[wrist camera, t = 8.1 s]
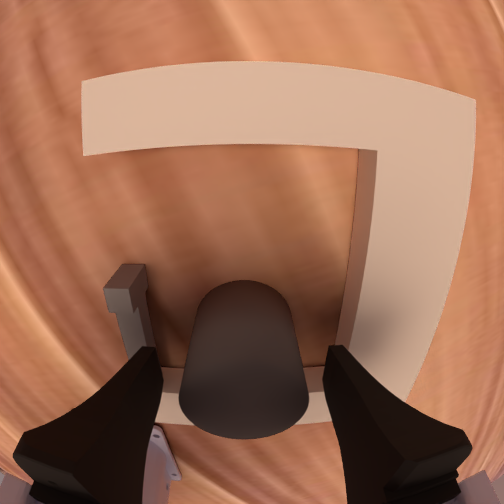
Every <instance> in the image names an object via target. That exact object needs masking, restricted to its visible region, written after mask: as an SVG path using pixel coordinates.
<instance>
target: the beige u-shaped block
mask: <svg viewBox="0 0 504 504" xmlns="http://www.w3.org/2000/svg"><path fill="white" fill-rule="evenodd" d="M475 132H476V100H475V99H472V98H470V97H467V96H464V95H461V94H458V93H455V92H451V91H448V90H445V89H442V88H438V87H435V86H431V85H428V84H424V83H420V82H416V81H412V80H408V79H404V78H399V77H395V76H390V75H385V74H380V73H374V72H369V71H363V70H357V69H350V68H343V67H335V66H327V65H317V64H306V63H292V62H270V61H226V62H205V63H191V64H179V65H170V66H161V67H154V68H147V69H140V70H134V71H128V72H122V73H117V74H112V75H107V76H102V77H98V78H93V79H89V80H85V81H82V140H83V156H88V155H95V154H102V153H110V152H118V151H127V150H137V149H148V148H160V147H173V146H190V145H214V144H290V145H314V146H331V147H345V148H357V149H359V157H358V174H357V188H356V200H355V211H354V221H353V230H352V239H351V247H350V255H349V263H348V270H347V277H346V284H345V290H344V297H343V303H342V309H341V314H340V320H339V326H338V331H337V336H336V341H335V345H343V346H344V347H345V348H346V349H347V350H348V351H349V352H350V353H351V354H352V355H353V356H354V357H355V358H356V360H357V361H358V362H359V363H360V364H361V365H362V366H363V367H364V368H365V369H366V370H367V371H368V372H369V373H370V374H371V375H372V376H373V377H374V378H375V379H376V380H377V381H378V382H379V383H381V384H382V385H383V386H384V387H385V388H386V389H388V390H389V391H390V392H391V393H393V394H394V395H395V396H397V397H398V398H399V399H401V400H402V401H404V402H405V401H406V399H407V397H408V395H409V393H410V391H411V389H412V387H413V385H414V382H415V380H416V378H417V376H418V374H419V371H420V369H421V367H422V364H423V362H424V360H425V357H426V355H427V352H428V350H429V347H430V345H431V342H432V339H433V337H434V334H435V331H436V329H437V326H438V323H439V320H440V317H441V314H442V311H443V308H444V305H445V302H446V299H447V295H448V292H449V289H450V285H451V282H452V278H453V274H454V271H455V267H456V263H457V259H458V254H459V250H460V246H461V241H462V236H463V232H464V226H465V221H466V216H467V210H468V203H469V197H470V190H471V182H472V173H473V163H474V150H475ZM147 288H148V281H147V275H146V269H145V264H122V265H121V266H120V267H119V269H118V270H117V271H116V272H115V274H114V275H113V276H112V277H111V279H110V280H109V281H108V282H107V284H106V285H105V286H104V288H103V290H104V294H105V299H106V303H107V307H108V310H109V312H111V313H116V316H117V320H118V324H119V328H120V331H121V335H122V338H123V342H124V345H125V349H126V352H127V355H128V358H129V360H130V358H131V357H132V356H133V355H134V354H135V353H136V352H137V351H138V350H139V349H140V348H141V347H142V346H149V347H156V344H155V340H154V335H153V331H152V326H151V321H150V316H149V311H148V306H147V301H146V295H145V292H146V290H147ZM156 351H157V349H156ZM157 355H158V353H157ZM158 359H159V357H158ZM159 363H160V361H159ZM160 367H161V365H160ZM324 368H325V366H320V367H306V368H303V370H304V374H305V379H306V383H307V388H308V393H309V405H308V408H307V410H306V412H305V414H304V415H303V417H302V418H301V419H300V420H299V421H298V422H297V423H295V424H294V425H297V424H309V423H320V422H329V421H332V419H331V416H330V413H329V409H328V406H327V403H326V399H325V394H324V388H323V382H322V377H323V373H324ZM161 371H162V375H163V379H164V383H163V390H162V397H161V402H160V406H159V409H158V413H157V416H156V419H155V422H160V423H170V424H182V425H194V424H193V423H192V422H191V421H189V420H188V419H187V417H186V416H185V415H184V413H183V412H182V410H181V408H180V405H179V391H180V387H181V382H182V377H183V372H184V368H167V367H161Z"/></svg>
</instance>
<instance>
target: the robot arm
mask: <svg viewBox="0 0 504 504" xmlns="http://www.w3.org/2000/svg"><path fill="white" fill-rule="evenodd" d="M322 382H323V388H324V394H325V399H326V403H327V406H328V409H329V413H330V416H331V419H332V422H333V425H334V429H335V432H336V435H337V438H338V442H339V446H340V450H341V456H342V462H343V469H344V476H345V483H346V493H347V504H500V502H499V499H498V497H497V495H496V493H495V491H494V489H493V486H492V484H491V482H490V480H489V478H488V476H487V474H486V472H485V470H482V471H480V472H478V473H476V474H475V475H473V476H470V477H468V478H466V479H465V480H463V481H461V482H460V483H457V481H456V478H457V477H458V475H459V474H458V472H457V470H456V469H457V468H458V467H459V466H460V465H461V464H462V463H463V462H464V460H465V459H466V458H467V457H468V456H469V455H470V453H471V451H472V445H471V443H470V441H469V439H468V437H467V436H466V434H465V432H464V431H463V430H462V429H459V428H456V427H453V426H450V425H447V424H444V423H442V422H440V421H438V420H435V419H433V418H431V417H429V416H427V415H425V414H423V413H421V412H420V411H418V410H416V409H415V408H413V407H411V406H410V405H408V404H406V403H405V402H404V401H402V400H401V399H399V398H398V397H397V396H395V395H394V394H393V393H391V392H390V391H389V390H388V389H386V388H385V387H384V386H383V385H382V384H381V383H379V382H378V381H377V380H376V379H375V378H374V377H373V376H372V375H371V374H370V373H369V372H368V371H367V370H366V369H365V368H364V367H363V366H362V365H361V364H360V363H359V362H358V361H357V360H356V358H355V357H354V356H353V355H352V354H351V353H350V352H349V351H348V350H347V349H346V348H345V347H344V346H343V345H331V346H329V347H328V353H327V358H326V363H325V368H324V373H323V377H322ZM163 383H164V379H163V375H162V371H161V367H160V363H159V359H158V355H157V351H156V347H149V346H142V347H141V348H140V349H139V350H138V351H137V352H136V353H135V354H134V355H133V356H132V357H131V358H130V360H129V361H128V362H127V363H126V364H125V365H124V366H123V367H122V368H121V369H120V370H119V371H118V372H117V373H116V374H115V375H114V376H113V377H112V378H111V379H110V380H109V381H108V382H107V383H106V384H105V385H104V386H103V387H102V388H101V389H100V390H98V391H97V392H96V393H95V394H94V395H93V396H91V397H90V398H89V399H87V400H86V401H85V402H83V403H82V404H80V405H79V406H77V407H76V408H74V409H73V410H71V411H69V412H68V413H66V414H65V415H63V416H61V417H59V418H57V419H55V420H53V421H51V422H49V423H47V424H45V425H42V426H40V427H37V428H34V429H32V430H29V431H26V432H24V433H23V435H22V437H21V439H20V441H19V443H18V445H17V447H16V449H15V451H14V453H13V458H14V460H15V462H16V463H17V464H18V465H19V466H20V467H21V468H22V469H23V470H24V471H25V472H26V473H27V474H28V475H29V476H30V477H31V478H32V479H33V480H34V482H33V485H30V484H29V483H27V482H25V481H24V480H21V479H19V478H17V477H15V476H13V475H11V474H9V473H6V474H5V476H4V479H3V481H2V484H1V486H0V504H168V498H169V491H170V484H171V480H176V481H180V480H182V476H181V473H180V471H179V469H178V467H177V464H176V462H175V460H174V457H173V455H172V453H171V450H170V448H169V445H168V443H167V440H166V438H165V435H164V433H163V430H162V429H161V428H160V427H159V426H156V425H154V423H155V419H156V416H157V413H158V409H159V406H160V402H161V397H162V390H163Z"/></svg>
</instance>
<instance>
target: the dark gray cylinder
mask: <svg viewBox="0 0 504 504" xmlns="http://www.w3.org/2000/svg"><path fill="white" fill-rule="evenodd" d="M179 405H180V408H181V410H182V412H183V413H184V415H185V416H186V417H187V419H188V420H189V421H191V422H192V423H193V424H194V425H196V426H197V427H199V428H200V429H202V430H204V431H206V432H209V433H211V434H214V435H217V436H221V437H225V438H232V439H257V438H263V437H268V436H271V435H275V434H277V433H280V432H282V431H284V430H286V429H288V428H290V427H291V426H293V425H294V424H295V423H297V422H298V421H299V420H300V419H301V418H302V417H303V415H304V414H305V412H306V410H307V408H308V405H309V393H308V388H307V383H306V379H305V374H304V370H303V365H302V361H301V356H300V352H299V347H298V343H297V338H296V334H295V329H294V325H293V321H292V316H291V312H290V308H289V306H288V304H287V302H286V300H285V299H284V298H283V297H282V295H281V294H280V293H278V292H277V291H276V290H275V289H273V288H271V287H270V286H268V285H265V284H263V283H260V282H256V281H249V280H239V281H232V282H227V283H225V284H222V285H220V286H218V287H216V288H214V289H213V290H211V291H210V292H209V293H208V294H207V295H206V296H205V297H204V298H203V300H202V301H201V303H200V305H199V307H198V310H197V315H196V319H195V323H194V327H193V332H192V336H191V341H190V345H189V350H188V354H187V359H186V363H185V368H184V372H183V377H182V382H181V387H180V391H179Z"/></svg>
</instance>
